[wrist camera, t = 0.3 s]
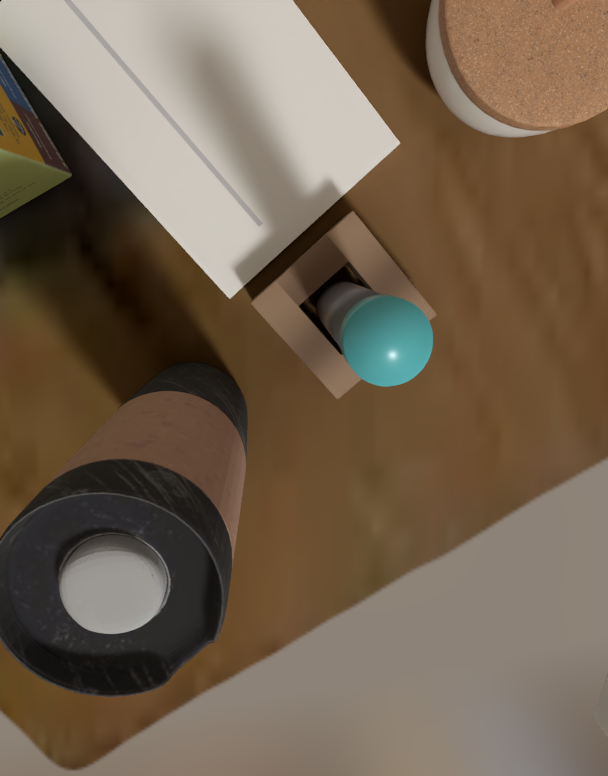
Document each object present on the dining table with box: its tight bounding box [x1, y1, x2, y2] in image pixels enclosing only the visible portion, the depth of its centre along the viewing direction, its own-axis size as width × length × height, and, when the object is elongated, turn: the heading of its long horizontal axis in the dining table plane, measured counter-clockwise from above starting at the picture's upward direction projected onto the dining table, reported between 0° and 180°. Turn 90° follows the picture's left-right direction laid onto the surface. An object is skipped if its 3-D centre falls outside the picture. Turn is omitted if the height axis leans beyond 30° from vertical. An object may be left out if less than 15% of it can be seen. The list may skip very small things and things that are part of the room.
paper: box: [0, 0, 400, 299], centre depth 31 cm, size 20×14×1 cm
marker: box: [317, 281, 433, 386], centre depth 28 cm, size 3×3×15 cm
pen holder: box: [251, 211, 437, 400], centre depth 34 cm, size 8×8×2 cm
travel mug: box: [0, 363, 247, 697], centre depth 26 cm, size 8×8×20 cm
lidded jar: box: [426, 0, 608, 137], centre depth 27 cm, size 11×11×9 cm
